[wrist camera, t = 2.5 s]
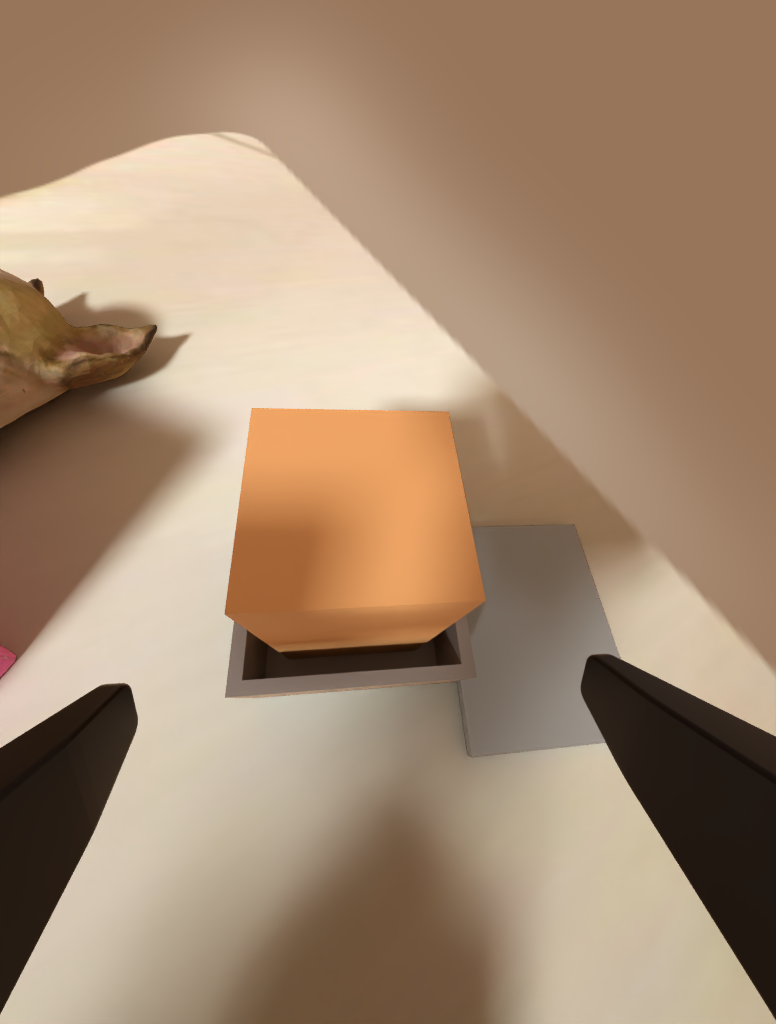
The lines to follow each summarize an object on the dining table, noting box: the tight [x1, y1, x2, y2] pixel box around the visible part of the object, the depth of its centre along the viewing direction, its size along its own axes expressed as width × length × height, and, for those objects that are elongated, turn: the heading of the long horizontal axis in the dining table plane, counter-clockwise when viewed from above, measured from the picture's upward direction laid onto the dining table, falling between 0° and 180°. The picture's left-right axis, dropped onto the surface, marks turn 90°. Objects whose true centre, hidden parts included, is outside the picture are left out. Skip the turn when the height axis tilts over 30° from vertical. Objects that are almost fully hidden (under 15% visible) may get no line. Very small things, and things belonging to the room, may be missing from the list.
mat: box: [457, 524, 620, 757], centre depth 19 cm, size 11×8×1 cm
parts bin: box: [225, 615, 477, 698], centre depth 17 cm, size 9×9×4 cm
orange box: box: [225, 408, 486, 659], centre depth 14 cm, size 6×6×10 cm
